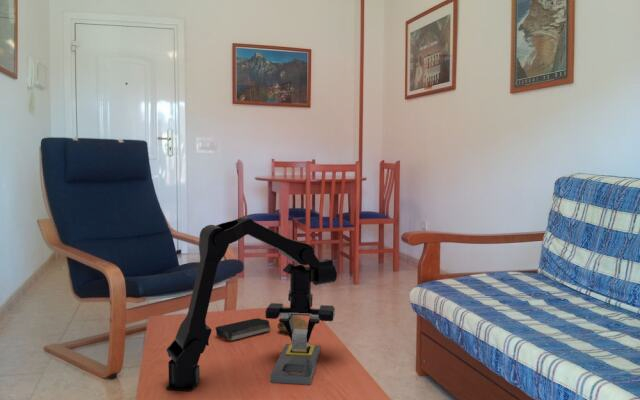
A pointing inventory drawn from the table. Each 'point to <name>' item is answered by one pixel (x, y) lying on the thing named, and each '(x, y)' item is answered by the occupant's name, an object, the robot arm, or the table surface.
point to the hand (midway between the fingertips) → (300, 341)
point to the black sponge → (243, 329)
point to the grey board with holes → (295, 366)
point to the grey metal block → (299, 341)
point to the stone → (294, 324)
